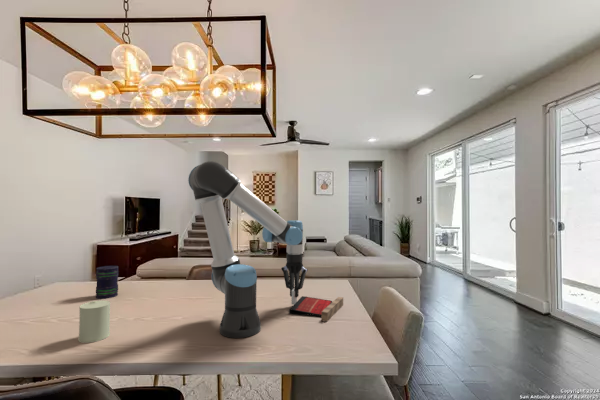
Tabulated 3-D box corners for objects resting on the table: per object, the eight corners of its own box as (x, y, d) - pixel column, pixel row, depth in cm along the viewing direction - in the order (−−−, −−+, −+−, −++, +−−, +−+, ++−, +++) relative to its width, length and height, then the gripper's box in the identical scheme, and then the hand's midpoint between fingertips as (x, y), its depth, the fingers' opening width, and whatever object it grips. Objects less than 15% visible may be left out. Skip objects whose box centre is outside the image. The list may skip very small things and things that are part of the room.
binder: (289, 308, 130) (301, 295, 150) (288, 314, 130) (301, 300, 150) (325, 313, 126) (333, 299, 146) (325, 319, 126) (333, 304, 146)
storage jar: (104, 293, 161) (105, 265, 162) (122, 293, 161) (122, 265, 161) (90, 298, 151) (91, 269, 152) (109, 299, 151) (110, 269, 151)
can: (104, 329, 113) (105, 297, 113) (113, 336, 107) (114, 302, 107) (74, 337, 105) (75, 303, 106) (83, 345, 100) (83, 309, 100)
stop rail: (327, 321, 122) (327, 312, 122) (321, 320, 123) (321, 311, 123) (343, 304, 143) (343, 297, 143) (338, 304, 144) (338, 296, 144)
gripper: (310, 253, 142) (310, 303, 141) (285, 251, 148) (285, 299, 147) (303, 255, 135) (303, 308, 135) (278, 253, 141) (278, 304, 140)
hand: (294, 303), depth 141 cm, fingers closed
